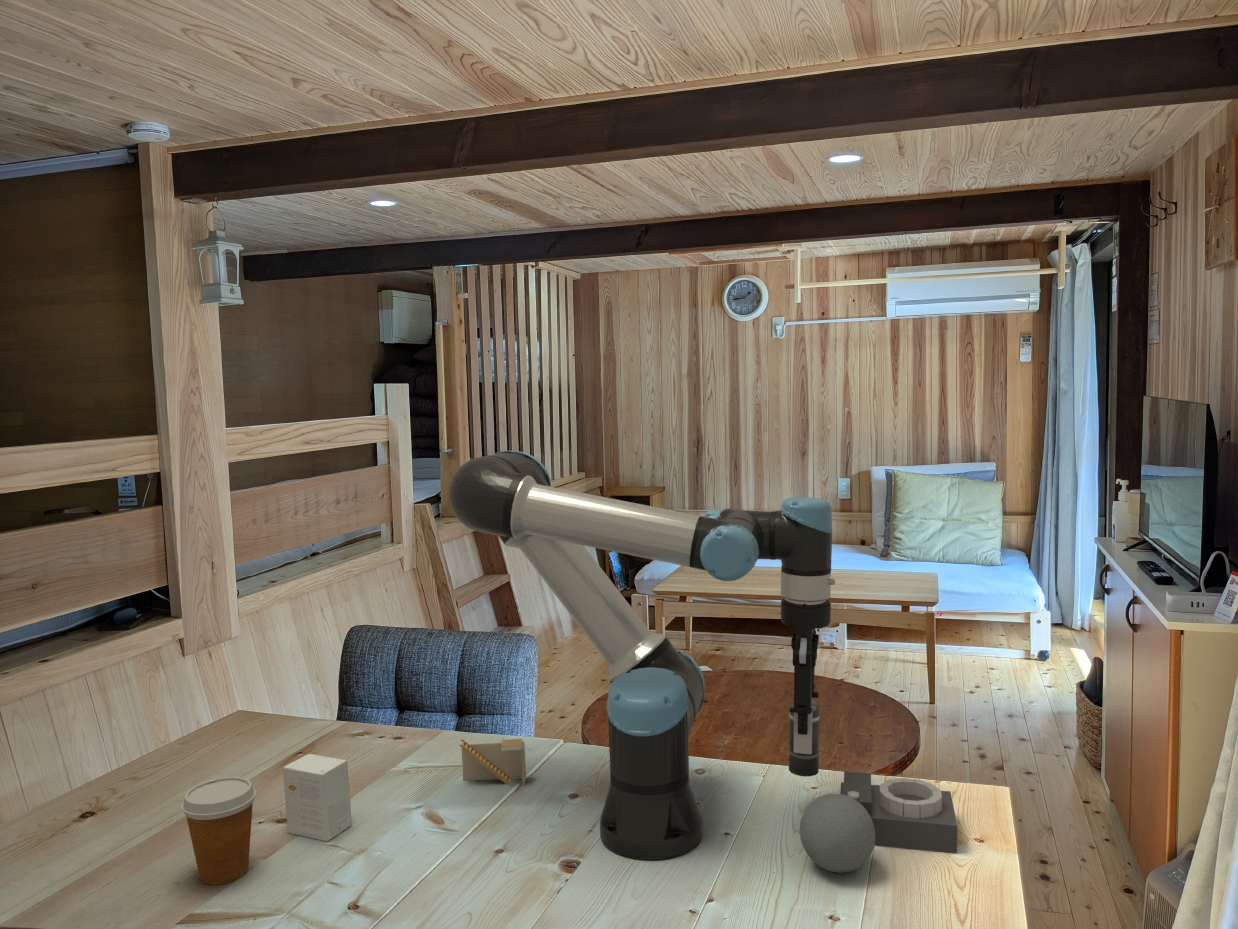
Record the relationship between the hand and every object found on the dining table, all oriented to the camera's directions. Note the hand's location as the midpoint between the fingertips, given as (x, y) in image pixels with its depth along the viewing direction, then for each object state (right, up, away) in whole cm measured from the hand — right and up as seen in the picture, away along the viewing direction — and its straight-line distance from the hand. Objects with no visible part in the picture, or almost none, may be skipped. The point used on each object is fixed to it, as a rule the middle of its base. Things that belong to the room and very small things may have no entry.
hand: (803, 745), depth 142 cm
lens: (0, -4, 0) cm, 4 cm away
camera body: (+12, -10, -8) cm, 17 cm away
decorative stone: (+1, -11, -18) cm, 21 cm away
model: (-50, -11, +12) cm, 53 cm away
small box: (-75, -12, -2) cm, 76 cm away
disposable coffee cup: (-84, -14, -14) cm, 86 cm away
